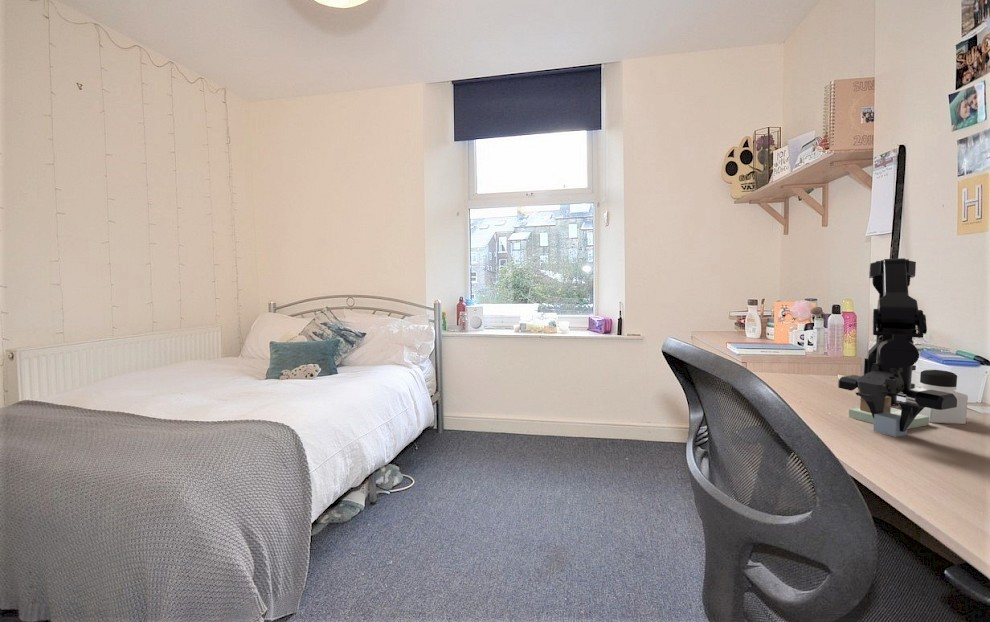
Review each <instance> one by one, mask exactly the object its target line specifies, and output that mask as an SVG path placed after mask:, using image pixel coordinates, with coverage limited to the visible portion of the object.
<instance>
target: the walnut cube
mask: <svg viewBox="0 0 990 622" xmlns="http://www.w3.org/2000/svg"><path fill="white" fill-rule="evenodd" d="M859 406H860V410H862V411H866V412H870V413H871V411H870V409H869V406H868V405H867V403H866V401H865V400H864V399H863V398H862V397H860V405H859ZM891 408H892V406H891V397H889V396H886V397H885V403H884V411H883V412H888V413H890V411H891Z"/></svg>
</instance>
